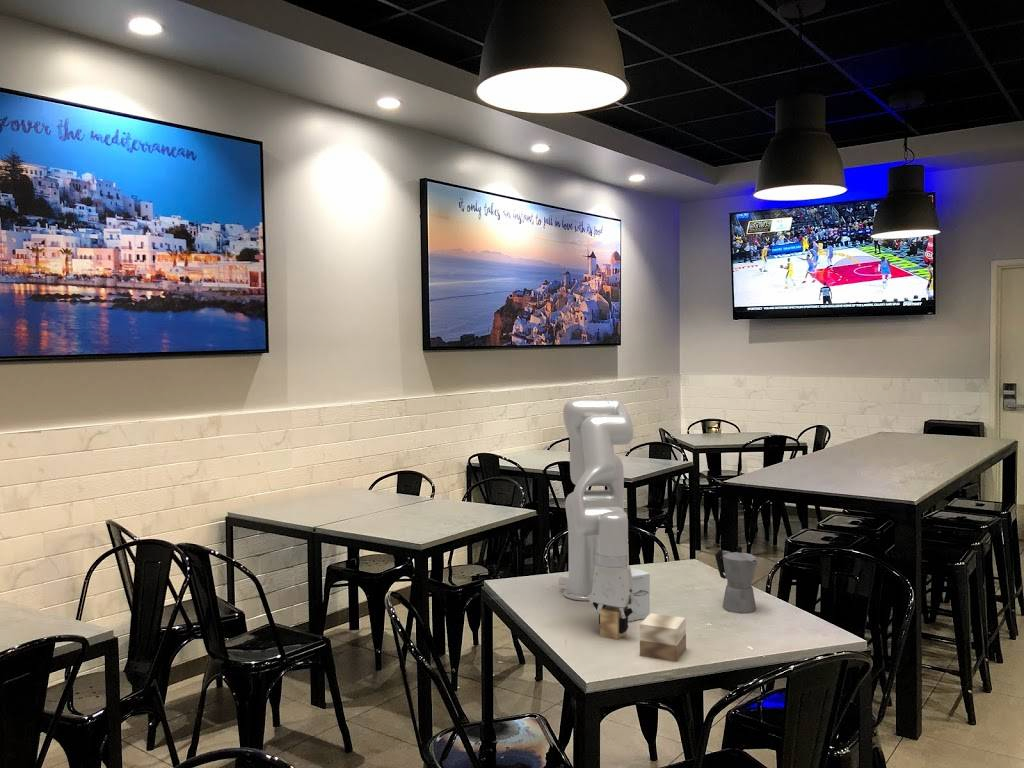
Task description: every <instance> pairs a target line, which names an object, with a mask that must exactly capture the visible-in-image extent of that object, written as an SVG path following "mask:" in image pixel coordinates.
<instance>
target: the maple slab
mask: <svg viewBox="0 0 1024 768" xmlns="http://www.w3.org/2000/svg"><path fill="white" fill-rule="evenodd" d="M686 624H687V619H686V617H682V616H673V615H665V614H659V613H653V612H649V615H648V616H647V617H646V618H644V619H642V621H641V622H640V623H639V641H640V640H641V641H648V642H654V643H661V644H668V645H675V646H677V645H678V643H679V642H680V641H681V639H682V638H683V637H684V636H685V634H686V635H687V633H686V630H687V627H686V626H687V625H686Z"/></svg>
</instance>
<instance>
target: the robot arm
mask: <svg viewBox="0 0 1024 768" xmlns="http://www.w3.org/2000/svg"><path fill="white" fill-rule="evenodd" d="M562 414H563V415H562V416H563V422H564V426H565V428H566V432H567V435H568V437H569V473H570V474H569V475H570V480H571V482H572V484H573V485H575V486H574V489H573V491H572V492H571V493H569V494H567V497H565V502H564V504H565V505H564V506H565V513H566V519H567V531H568V532H567V533H568V540H567V541H568V542H567V543H568V578H567V577H564V576H559V578H558V582H557V583H558V585H560V586H564V587H565V588H564V589H563V594H562V595H563V596H564V597H566V598H567V599H570V600H574V601H585V602H586V601H589V602H590V603H591V604H592V605H593V608H595V610H596V612H597V614H598V624H599V626H600V609H601V608H603V607H605V606H612V607H617V608H619V611H620V615H621V618H619V633H620V634H622V633H624V632H626V633H627V631H628V629H629V622H628V616H629V615H630V614H631V613H632V612H634V611H635V610H636V609H638V608H639V607H640V605H639V603H638V602H637V600H636V599H635V597H634V596H633V581H632V574H631V569H630V568H631V566H629V519H628V515H627V512H625V510H624V509H625V507H624V506H625V497H624V496H625V493H624V492H625V489H624V486H625V485H624V483H625V480H624V479H625V475H624V472H625V471H624V465H623V462H622V459H621V458H620V456H618V455H617V454H615V449H614V448H615V447H614V446H624V445H625V446H626V445H629V444H630V443H632V441H633V439H634V426H633V422H632V419H631V416H630V414H629V412H628V410H627V409H626V407H625V405H624V403H623V402H622V401H621V400H619V399H617V398H576V399H572V400H571V399H570V400H569V401H567V402H566V403H565V404H564V406H563V410H562ZM588 487H607V489H597V490H596V489H587V488H588ZM586 489H587V490H586ZM628 604H631V605H632V606H631V607H630V608H628Z"/></svg>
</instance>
